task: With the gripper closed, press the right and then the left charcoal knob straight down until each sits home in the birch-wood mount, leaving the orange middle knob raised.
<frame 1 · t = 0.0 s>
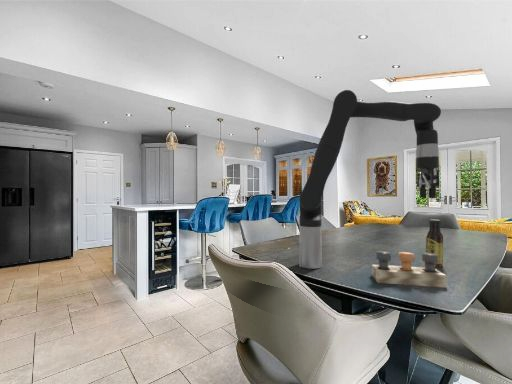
hand: (427, 198, 101), 29 cm above the table, tool pointing down, fingers open, 8 cm apart
knob mount: (406, 280, 91), on the table
middle knob: (406, 262, 91), point 6 cm above the table, slide at 0.0 cm
left knob: (383, 261, 93), point 7 cm above the table, slide at 0.0 cm
right knob: (430, 263, 90), point 6 cm above the table, slide at 0.0 cm
sauce bottle: (434, 266, 111), on the table
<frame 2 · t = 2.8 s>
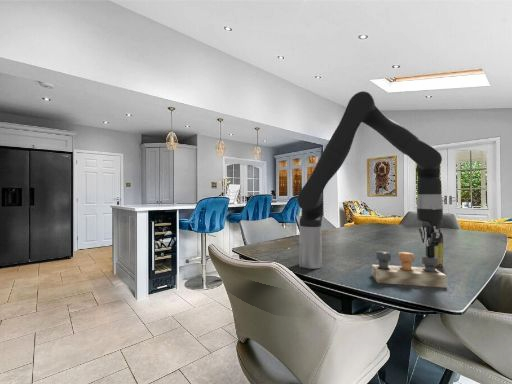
hand: (430, 257, 90), 9 cm above the table, tool pointing down, fingers closed
right knob: (430, 266, 90), point 6 cm above the table, slide at 0.9 cm, touching gripper
everything else where it was.
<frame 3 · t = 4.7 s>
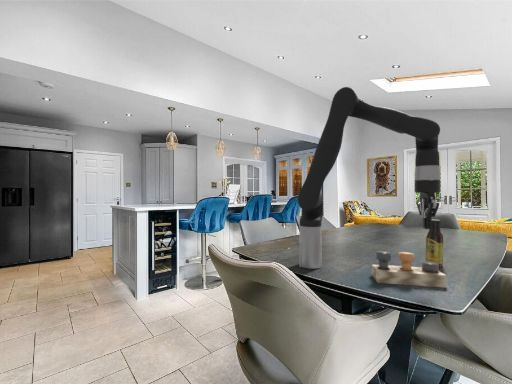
hand: (427, 228, 90), 19 cm above the table, tool pointing down, fingers closed
right knob: (430, 272, 90), point 3 cm above the table, slide at 3.1 cm
everything else where it was.
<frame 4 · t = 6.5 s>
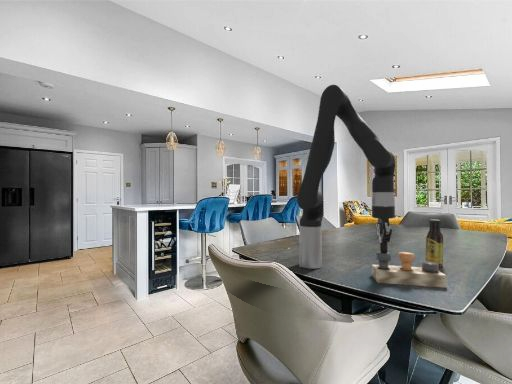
hand: (383, 252, 93), 10 cm above the table, tool pointing down, fingers closed
left knob: (383, 261, 93), point 6 cm above the table, slide at 0.2 cm, touching gripper
everything else where it was.
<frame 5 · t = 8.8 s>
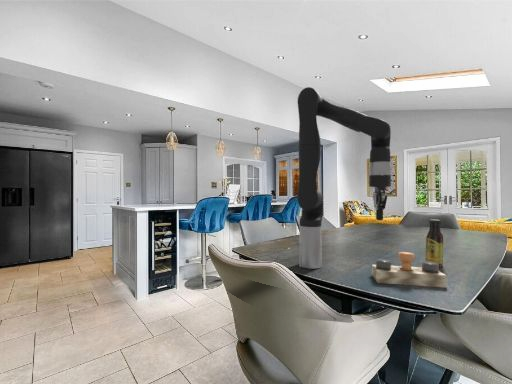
hand: (379, 219, 98), 21 cm above the table, tool pointing down, fingers closed
left knob: (383, 269, 93), point 3 cm above the table, slide at 3.1 cm
everything else where it was.
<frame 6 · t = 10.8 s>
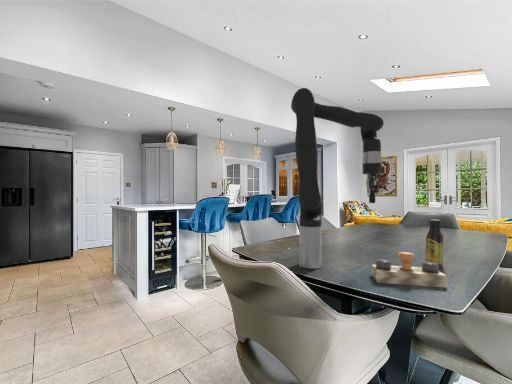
hand: (372, 203, 111), 27 cm above the table, tool pointing down, fingers closed
nothing on the table moved.
at the end: right knob slide at 3.1 cm; left knob slide at 3.1 cm; middle knob slide at 0.0 cm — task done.
